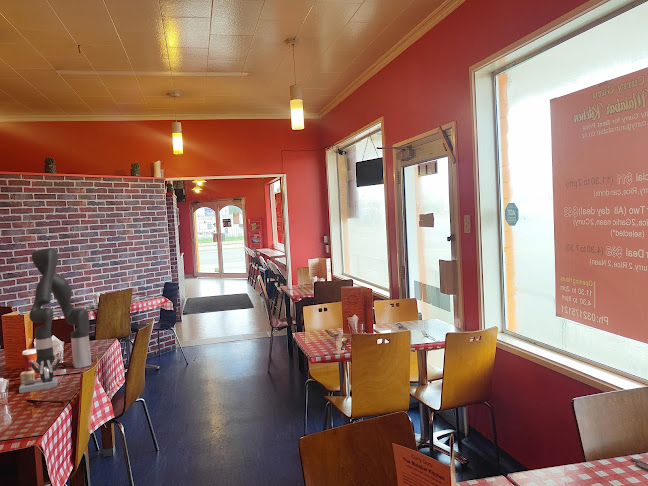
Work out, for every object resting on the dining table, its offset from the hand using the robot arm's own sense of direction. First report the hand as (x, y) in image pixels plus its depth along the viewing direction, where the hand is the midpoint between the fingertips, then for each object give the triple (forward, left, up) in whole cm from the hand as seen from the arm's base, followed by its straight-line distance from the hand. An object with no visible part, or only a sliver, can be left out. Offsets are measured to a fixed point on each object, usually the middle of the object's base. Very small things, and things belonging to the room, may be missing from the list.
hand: (47, 379), depth 250 cm
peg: (0, 0, -1) cm, 1 cm away
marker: (+6, -16, -3) cm, 17 cm away
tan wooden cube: (+10, -10, -3) cm, 14 cm away
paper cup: (+10, -27, -3) cm, 29 cm away
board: (+4, 0, -3) cm, 5 cm away
